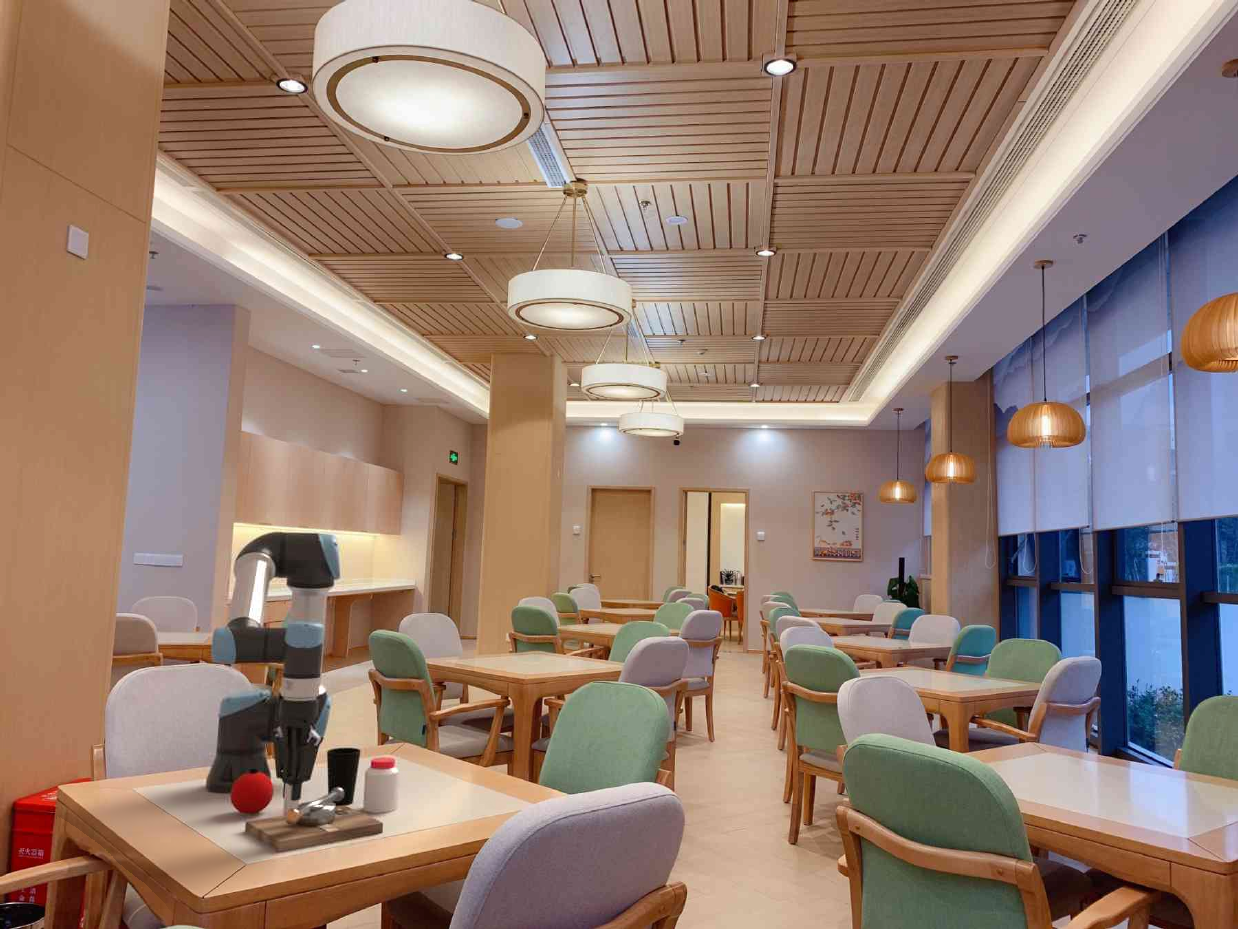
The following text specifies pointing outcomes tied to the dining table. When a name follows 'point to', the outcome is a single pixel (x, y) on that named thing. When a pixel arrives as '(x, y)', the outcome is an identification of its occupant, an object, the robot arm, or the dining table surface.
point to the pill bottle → (381, 786)
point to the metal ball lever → (315, 810)
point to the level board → (313, 830)
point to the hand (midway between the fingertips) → (290, 816)
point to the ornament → (252, 792)
